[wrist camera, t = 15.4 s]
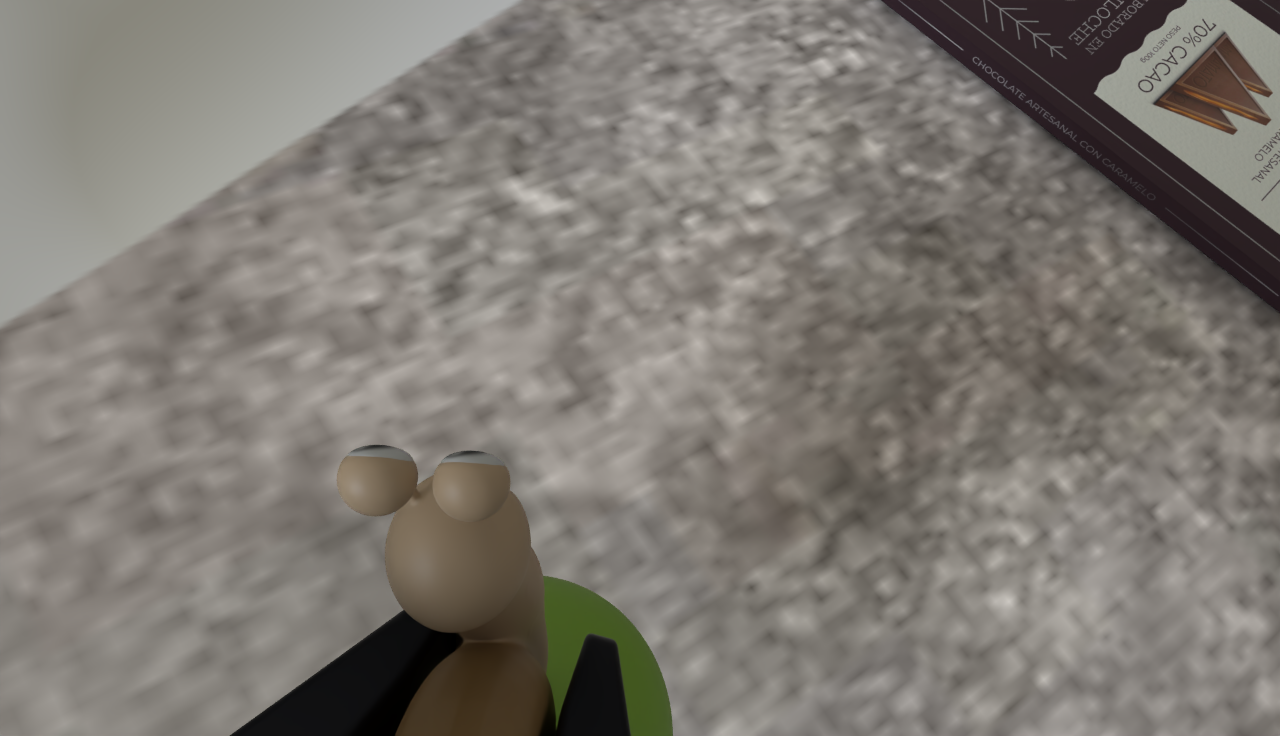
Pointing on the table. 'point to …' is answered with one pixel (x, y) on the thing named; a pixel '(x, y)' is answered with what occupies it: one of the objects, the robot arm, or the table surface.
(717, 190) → the table surface
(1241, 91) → the chocolate bar
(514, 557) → the snail figurine
